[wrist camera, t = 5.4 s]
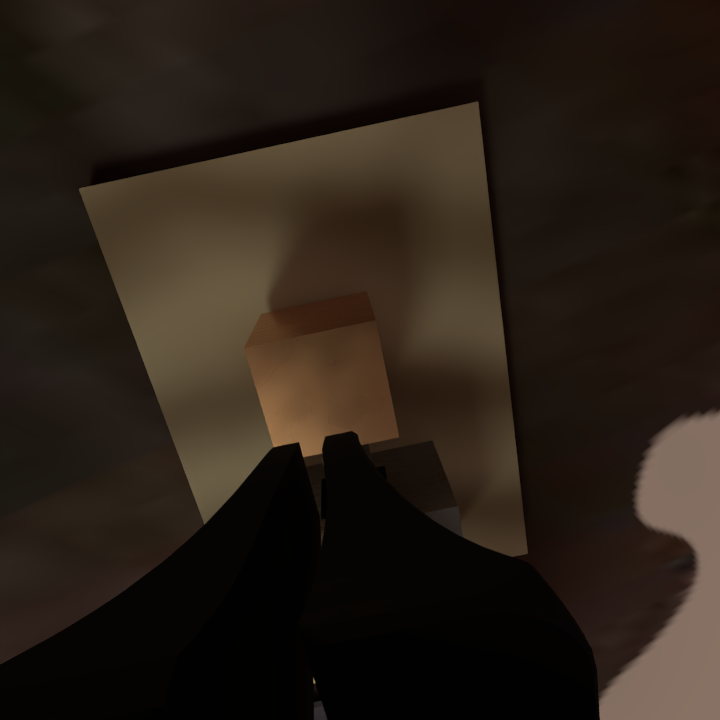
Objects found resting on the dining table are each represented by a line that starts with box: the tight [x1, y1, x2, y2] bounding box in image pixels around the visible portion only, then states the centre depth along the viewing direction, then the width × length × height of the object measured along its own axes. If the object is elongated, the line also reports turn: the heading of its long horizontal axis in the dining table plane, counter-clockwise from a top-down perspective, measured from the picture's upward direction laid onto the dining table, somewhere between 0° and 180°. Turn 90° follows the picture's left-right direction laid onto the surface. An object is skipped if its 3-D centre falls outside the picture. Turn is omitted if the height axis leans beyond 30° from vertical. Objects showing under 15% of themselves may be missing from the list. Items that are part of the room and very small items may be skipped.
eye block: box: [306, 440, 463, 537], centre depth 20 cm, size 5×7×5 cm
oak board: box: [79, 102, 528, 557], centre depth 21 cm, size 20×14×1 cm
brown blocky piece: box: [244, 291, 399, 467], centre depth 19 cm, size 12×4×4 cm, turn 12°
